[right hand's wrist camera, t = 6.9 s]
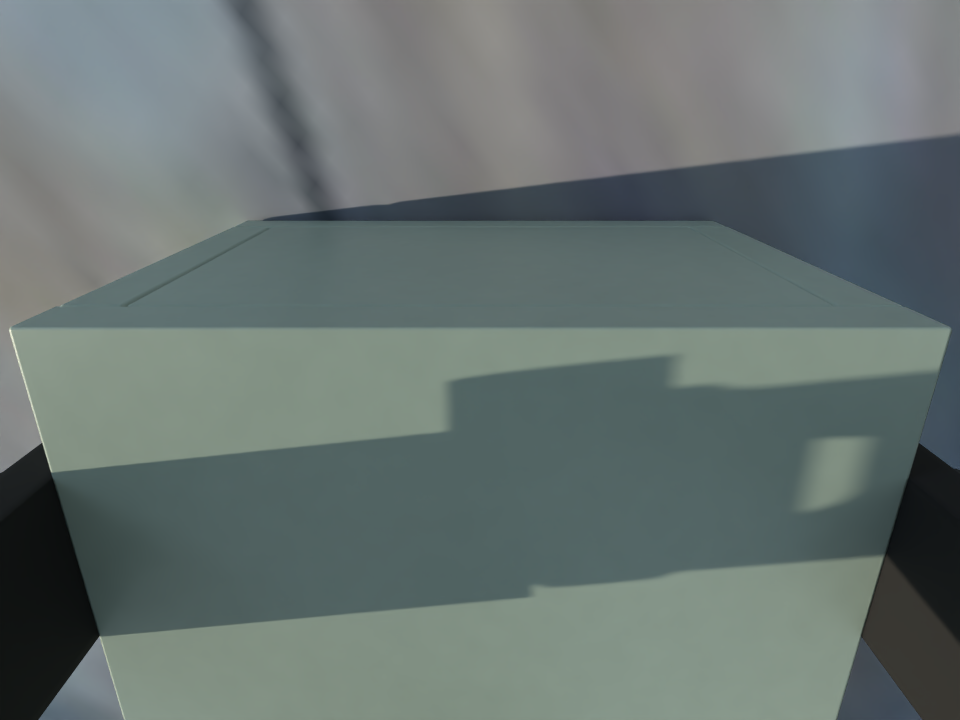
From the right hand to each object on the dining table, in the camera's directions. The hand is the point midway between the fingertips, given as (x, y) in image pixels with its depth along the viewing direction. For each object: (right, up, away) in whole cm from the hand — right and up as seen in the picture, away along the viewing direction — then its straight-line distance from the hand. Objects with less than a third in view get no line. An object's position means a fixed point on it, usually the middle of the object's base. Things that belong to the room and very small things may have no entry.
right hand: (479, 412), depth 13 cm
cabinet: (0, -3, +5) cm, 6 cm away
